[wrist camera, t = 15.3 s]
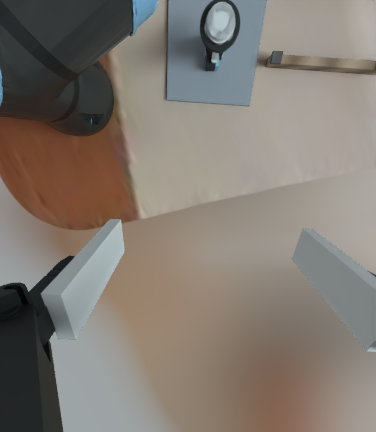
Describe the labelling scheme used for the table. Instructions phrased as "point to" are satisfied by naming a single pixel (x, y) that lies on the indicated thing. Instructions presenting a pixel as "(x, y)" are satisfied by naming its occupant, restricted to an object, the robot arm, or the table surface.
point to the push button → (218, 30)
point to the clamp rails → (320, 64)
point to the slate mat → (196, 59)
